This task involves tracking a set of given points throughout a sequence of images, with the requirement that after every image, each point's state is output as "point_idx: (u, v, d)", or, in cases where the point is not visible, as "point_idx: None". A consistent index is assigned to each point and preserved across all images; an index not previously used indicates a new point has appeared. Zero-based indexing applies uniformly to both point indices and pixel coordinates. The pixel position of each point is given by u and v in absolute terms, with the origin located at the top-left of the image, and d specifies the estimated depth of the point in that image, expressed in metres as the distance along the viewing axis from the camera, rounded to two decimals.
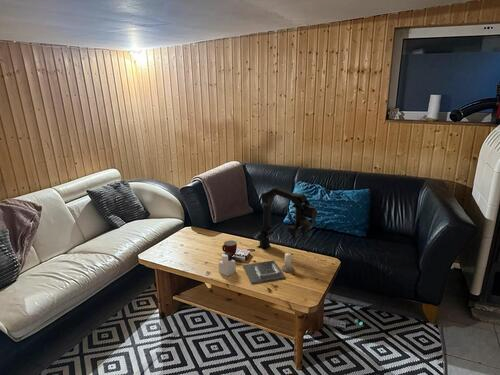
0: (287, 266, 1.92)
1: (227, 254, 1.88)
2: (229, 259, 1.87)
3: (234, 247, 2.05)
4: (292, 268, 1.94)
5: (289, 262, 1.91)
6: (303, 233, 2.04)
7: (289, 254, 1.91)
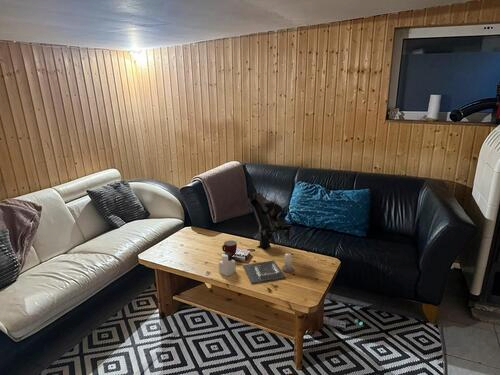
0: (287, 266, 1.92)
1: (227, 254, 1.88)
2: (229, 259, 1.87)
3: (234, 247, 2.05)
4: (292, 268, 1.94)
5: (289, 262, 1.91)
6: (287, 239, 2.01)
7: (289, 254, 1.91)
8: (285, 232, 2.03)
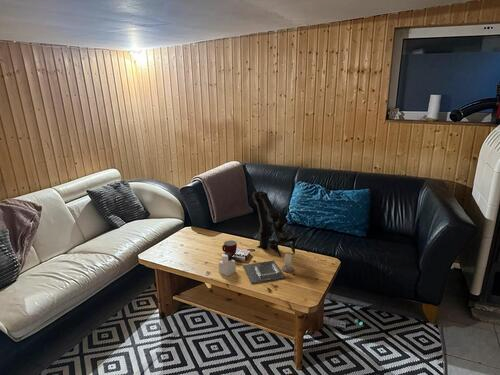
0: (287, 266, 1.92)
1: (227, 254, 1.88)
2: (229, 259, 1.87)
3: (234, 247, 2.05)
4: (292, 268, 1.94)
5: (289, 262, 1.91)
6: (293, 250, 1.95)
7: (289, 254, 1.92)
8: (291, 243, 1.98)
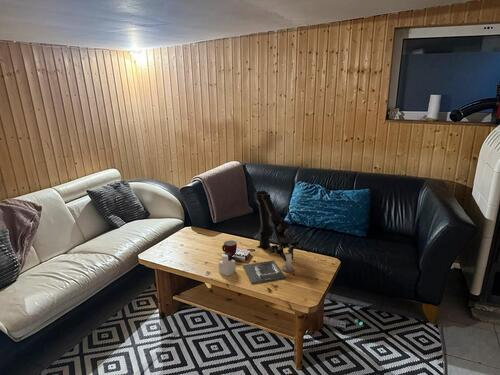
0: (287, 266, 1.92)
1: (227, 254, 1.88)
2: (229, 259, 1.87)
3: (234, 247, 2.05)
4: (292, 268, 1.94)
5: (289, 262, 1.91)
6: None
7: (289, 254, 1.91)
8: (289, 249, 1.96)
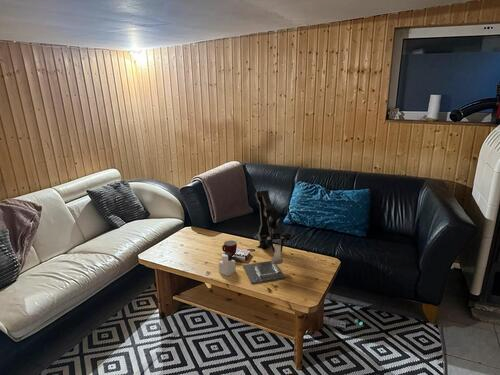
0: (275, 257, 1.88)
1: (227, 254, 1.88)
2: (229, 259, 1.87)
3: (234, 247, 2.05)
4: (281, 260, 1.89)
5: (277, 254, 1.87)
6: None
7: (278, 245, 1.87)
8: (280, 241, 1.91)
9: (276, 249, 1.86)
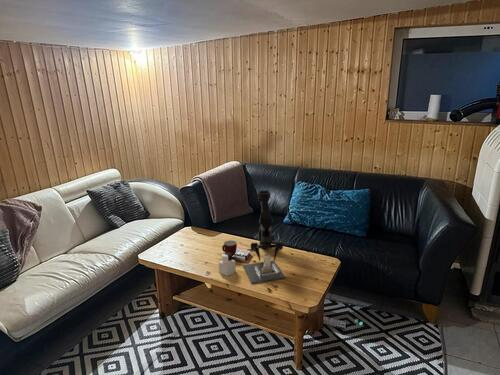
0: (265, 267, 1.89)
1: (227, 254, 1.88)
2: (229, 259, 1.87)
3: (234, 247, 2.05)
4: (271, 270, 1.89)
5: (267, 264, 1.88)
6: (274, 257, 1.89)
7: (268, 256, 1.88)
8: None
9: (265, 259, 1.87)
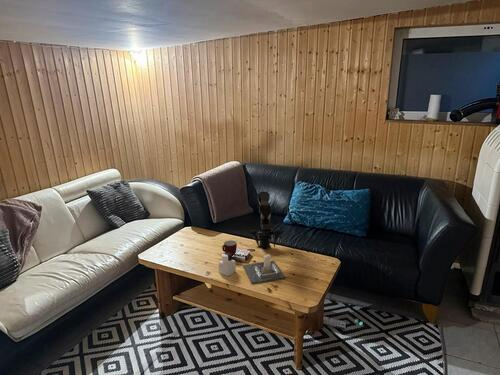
0: (265, 267, 1.89)
1: (227, 254, 1.88)
2: (229, 259, 1.87)
3: (234, 247, 2.05)
4: (271, 270, 1.89)
5: (267, 264, 1.88)
6: None
7: (268, 256, 1.88)
8: (274, 237, 1.97)
9: (265, 259, 1.87)
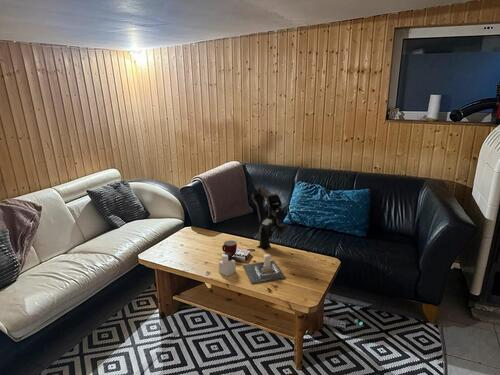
0: (265, 267, 1.89)
1: (227, 254, 1.88)
2: (229, 259, 1.87)
3: (234, 247, 2.05)
4: (271, 270, 1.89)
5: (267, 263, 1.88)
6: None
7: (268, 255, 1.88)
8: None
9: (265, 259, 1.87)
